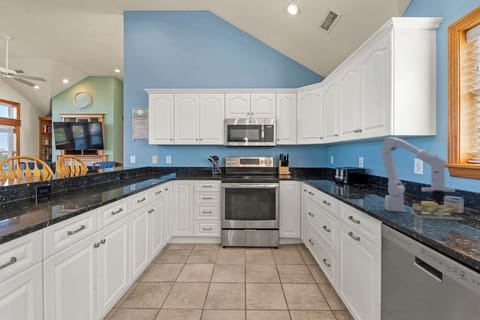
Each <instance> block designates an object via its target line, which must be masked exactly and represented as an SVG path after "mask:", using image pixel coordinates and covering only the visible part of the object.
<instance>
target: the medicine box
mask: <svg viewBox="0 0 480 320" xmlns="http://www.w3.org/2000/svg"><path fill="white" fill-rule="evenodd" d="M464 198H465V197H459V196H452V195H451V196H450V195H446V196H445V195H444V196H443V205H445V206H455V207H457V208H460V209H461V213H460V214H463V213H464V212H465V208H464V205H465V204H464V203H465V202H464V201H465V199H464ZM455 213H456V212H455ZM456 214H457V213H456Z"/></svg>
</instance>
